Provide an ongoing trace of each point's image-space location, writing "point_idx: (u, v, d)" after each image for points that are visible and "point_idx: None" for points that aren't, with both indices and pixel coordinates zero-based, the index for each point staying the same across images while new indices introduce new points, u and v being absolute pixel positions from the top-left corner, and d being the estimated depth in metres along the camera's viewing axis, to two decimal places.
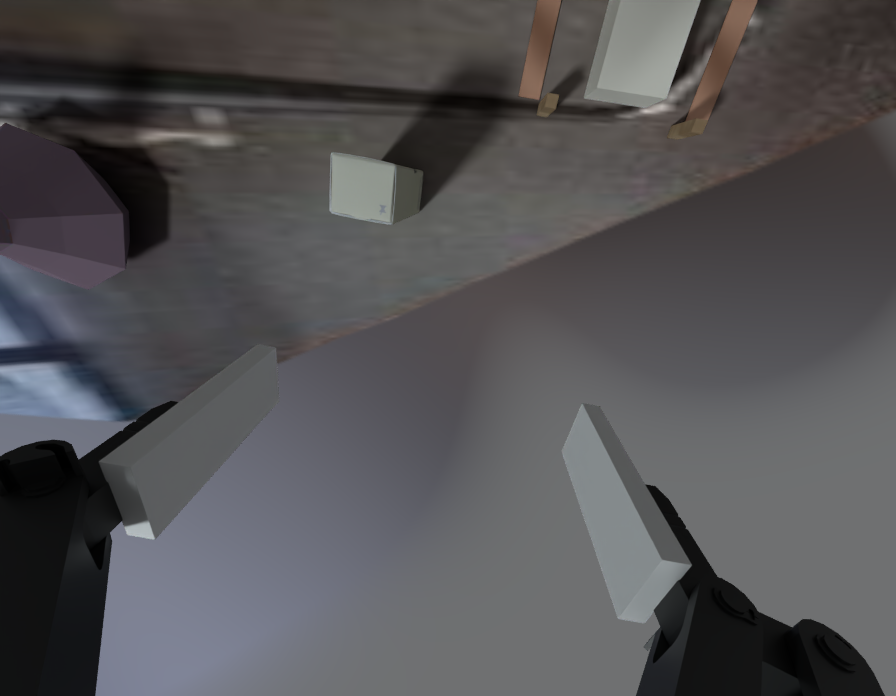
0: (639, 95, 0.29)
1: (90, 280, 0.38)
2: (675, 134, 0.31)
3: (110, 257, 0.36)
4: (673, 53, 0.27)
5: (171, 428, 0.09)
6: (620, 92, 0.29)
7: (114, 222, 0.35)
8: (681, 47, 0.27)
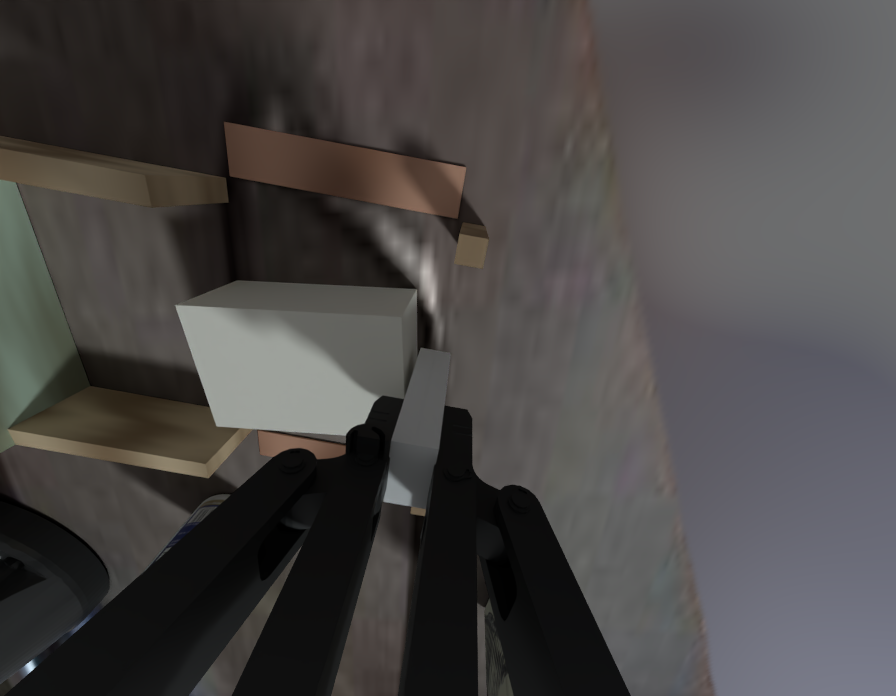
0: (404, 362, 0.14)
1: None
2: None
3: None
4: (327, 329, 0.13)
5: (417, 416, 0.11)
6: None
7: None
8: (315, 317, 0.13)
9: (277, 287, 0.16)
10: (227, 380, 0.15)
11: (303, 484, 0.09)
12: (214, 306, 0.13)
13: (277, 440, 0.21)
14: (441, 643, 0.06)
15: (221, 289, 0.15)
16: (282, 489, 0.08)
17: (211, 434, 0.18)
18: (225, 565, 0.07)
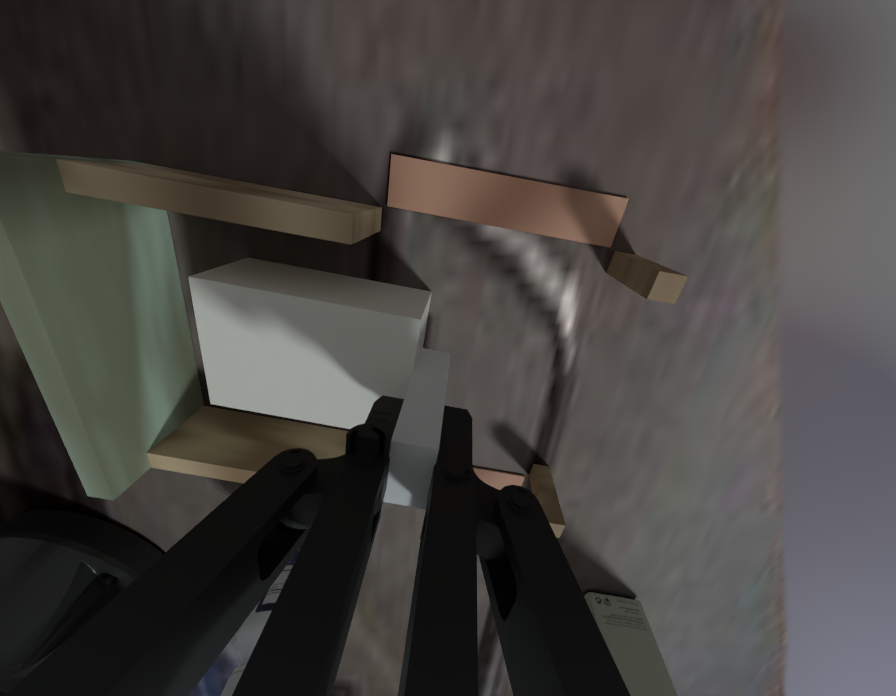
0: (414, 363, 0.14)
1: None
2: None
3: None
4: (344, 321, 0.13)
5: (417, 416, 0.11)
6: None
7: None
8: (333, 308, 0.13)
9: (292, 271, 0.15)
10: (230, 359, 0.14)
11: (303, 484, 0.09)
12: (230, 283, 0.13)
13: None
14: (441, 644, 0.06)
15: (234, 265, 0.15)
16: (282, 489, 0.08)
17: (335, 455, 0.19)
18: (225, 565, 0.07)
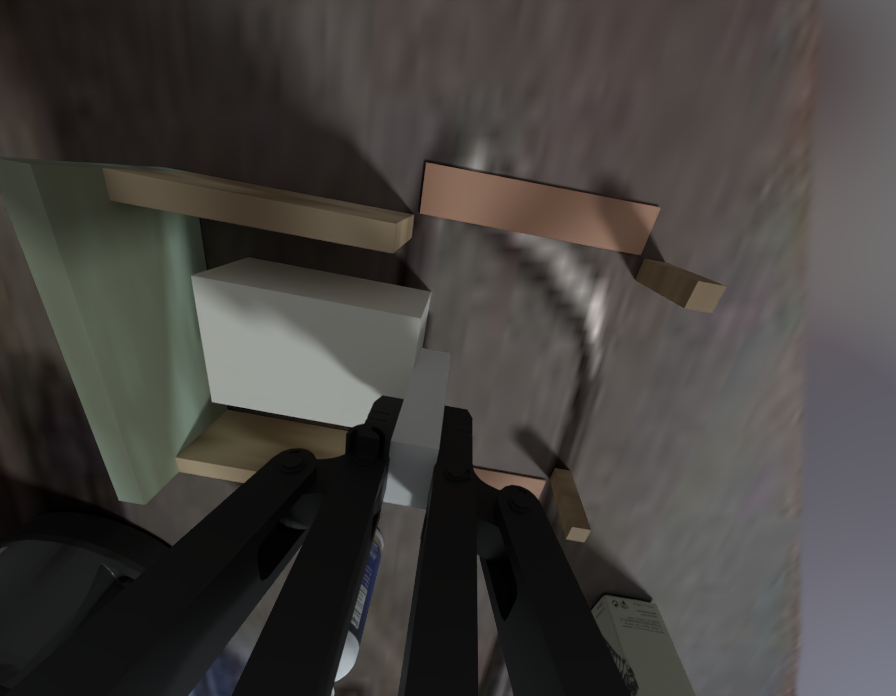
0: (414, 362, 0.14)
1: None
2: None
3: None
4: (345, 320, 0.13)
5: (417, 416, 0.11)
6: None
7: None
8: (334, 307, 0.13)
9: (293, 270, 0.16)
10: (232, 357, 0.14)
11: (303, 484, 0.09)
12: (232, 282, 0.13)
13: None
14: (441, 644, 0.06)
15: (236, 264, 0.15)
16: (282, 489, 0.08)
17: None
18: (225, 565, 0.07)
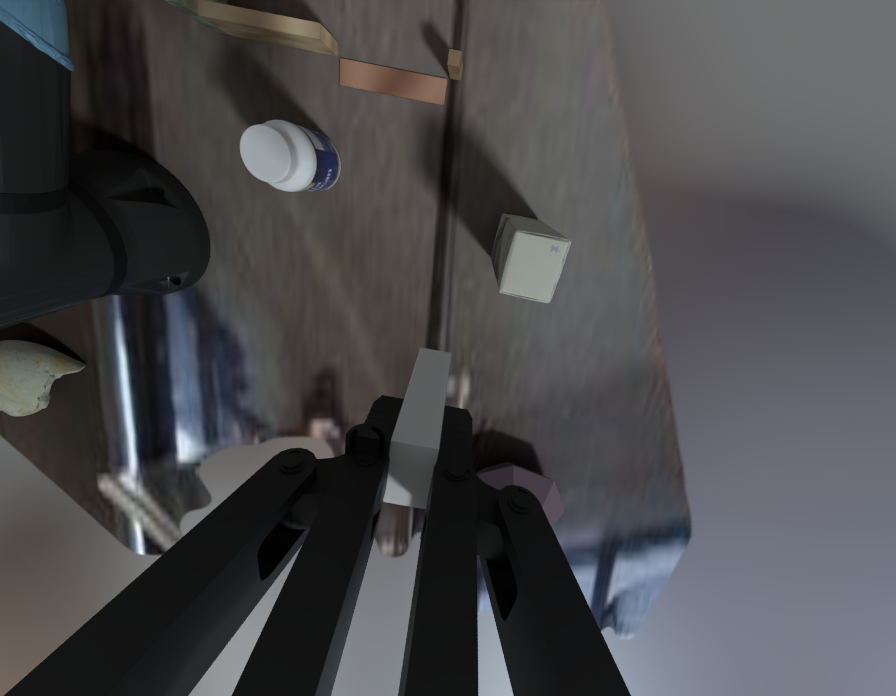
0: None
1: (559, 506, 0.47)
2: None
3: (544, 486, 0.45)
4: None
5: (417, 416, 0.11)
6: None
7: (519, 473, 0.45)
8: None
9: None
10: None
11: (303, 484, 0.09)
12: None
13: (352, 69, 0.31)
14: (441, 644, 0.06)
15: None
16: (282, 489, 0.08)
17: None
18: (225, 565, 0.07)
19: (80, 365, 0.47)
